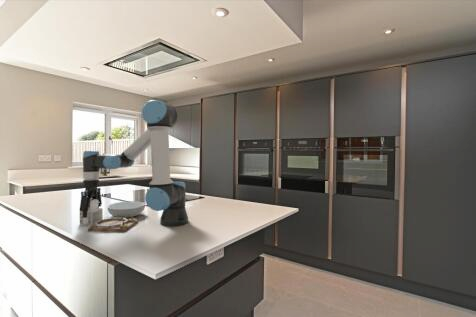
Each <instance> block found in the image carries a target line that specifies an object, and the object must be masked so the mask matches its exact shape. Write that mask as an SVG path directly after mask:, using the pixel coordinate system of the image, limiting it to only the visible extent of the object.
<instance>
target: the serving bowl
mask: <svg viewBox="0 0 476 317" xmlns="http://www.w3.org/2000/svg"><path fill="white" fill-rule="evenodd" d="M145 207H146V202H143V201H135V200H134V201H133V200H132V201H120V202H115V203H111V204H109V205H107V211H108V213H109V214H110V215H111V216H113V217H118V218H126V219H130V218H131V216H133V217H136V216H138V215H140V214H141V213H143V211H144V210H145Z"/></svg>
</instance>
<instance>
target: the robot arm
mask: <svg viewBox="0 0 476 317" xmlns="http://www.w3.org/2000/svg"><path fill="white" fill-rule="evenodd" d="M141 117H142V119H143V120H144V121H145V122H146V130H145V131H143V133H142V134H141V135H140V136H138V138H136V139H135V140H134V141H133V142H132V143H131V144H130V145H129V146H128V147H127V148H126V149H125V150H123V152H121V153H120V154H100V151H98V150H84V151H83V153H82V171H83V173H82V179H83V180H82V187H83V188H85V189H84V191H81V192H80V195H81V197H80V204H79V212H80V211H83V224H89V211H88V208H89V204H90V200H91V199H97V200H98V208H102V203H103V201H102V195H101V187H99V186H100V169H102V170H106V169H107V170H116V169H121V168H122V169H123V168H129V167H132V166H133V165H135V164H134V163H135V160H136V159H138V157H140V156H141V154H143V153H144V152H145V151H146V150H147V149H148V148H149V147H150V151H151V152H150V155H151V175H152V176H151V177H152V178H151V179H152V180H151V181H150V182H149V183H148V185H149V189H148V190H147V192H146V194H144V195H145V198H144V199H145V204H146V205H147V207H148V208H150V209H151V210H152V211H156V212H161V211H162V213H161V217H160V219H159V220H160V221H159V222H160V225H161V226H167V227H177V226H182V225H183V226H184V225H186V224H188V223H189V215H188V212H187V209H186V189H187V188H186V183H185V182H184V181H173V180H172V179H171V169H170V168H171V167H170V166H171V165H170V164H171V163H170V161H171V160H170V142H169V141H170V140H169V138H170V137H169V136H170V134H169V132H170V131H171V130H172V129H173V128H174V127H175V126H176V124H178V121H179V111H178V110H177V108H176V107H175V106H173V105H171V104H169V103H167V102H166V103H165V102H164V101H162V100H159V99H158V100H157V99H151V100H149V101H147V102H145V104H144V105H143V107H142V109H141Z"/></svg>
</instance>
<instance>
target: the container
mask: <svg viewBox="0 0 476 317" xmlns="http://www.w3.org/2000/svg"><path fill="white" fill-rule="evenodd" d="M88 211H89V224H83V211H80V210H79V225H80V226H89V227H91V226H93V225H94V223H95V222H97V221H99V220H101V219H104V218H103V216H104V215H103V212H104V211H103V208H102V207H99V208H98V200H97V199H91V200H90V204H89V208H88Z"/></svg>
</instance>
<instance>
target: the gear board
mask: <svg viewBox="0 0 476 317" xmlns="http://www.w3.org/2000/svg"><path fill="white" fill-rule="evenodd" d="M138 223H139V219H136V218H134V216H131V217H130V218H120V217H115V216H113V217H108V218H103V219H101V220H99V221H97V222H95V223H94V225H93V226H89V227H88V228H87V232H90V233H91V232H98V233H99V232H101V233H102V232H105V233H107V232H109V233H125V232H127V231H128V230H129V229H131V228H132V227H134V226H135V225H136V224H138Z"/></svg>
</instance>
